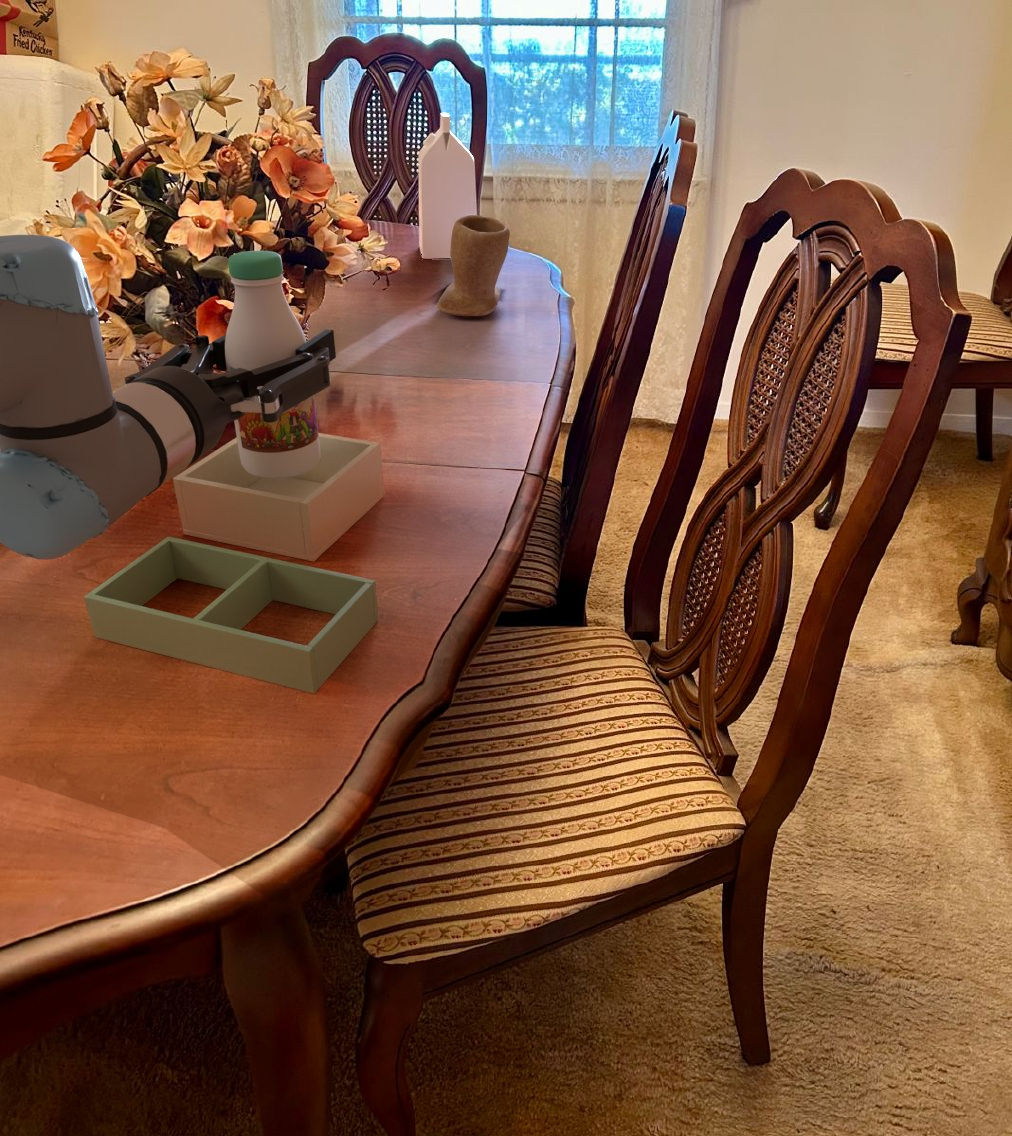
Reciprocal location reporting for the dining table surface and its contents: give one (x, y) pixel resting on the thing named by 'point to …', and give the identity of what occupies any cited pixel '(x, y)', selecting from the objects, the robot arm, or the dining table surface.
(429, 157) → the milk
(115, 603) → the green divided tray
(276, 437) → the milk bottle
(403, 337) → the dining table surface
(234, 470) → the cream square box
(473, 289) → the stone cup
